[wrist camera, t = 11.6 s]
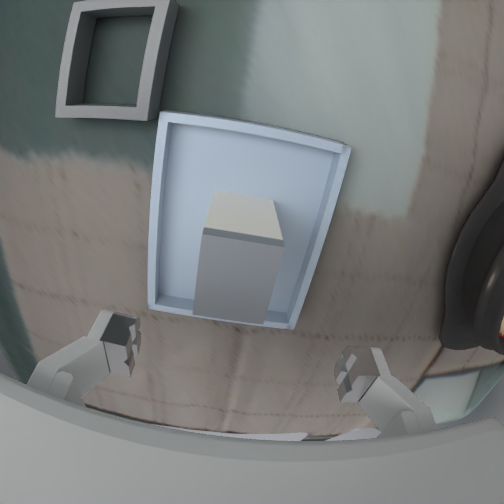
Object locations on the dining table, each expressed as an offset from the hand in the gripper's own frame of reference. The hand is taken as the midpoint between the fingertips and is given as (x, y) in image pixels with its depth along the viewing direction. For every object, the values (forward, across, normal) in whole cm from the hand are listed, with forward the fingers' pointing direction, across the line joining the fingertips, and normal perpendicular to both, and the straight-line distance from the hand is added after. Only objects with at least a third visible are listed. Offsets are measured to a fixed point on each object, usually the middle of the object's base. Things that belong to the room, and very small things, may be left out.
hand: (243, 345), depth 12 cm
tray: (+12, +1, +1) cm, 12 cm away
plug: (+12, +1, +1) cm, 12 cm away
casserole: (+13, -26, -2) cm, 30 cm away
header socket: (+12, +11, -10) cm, 19 cm away
